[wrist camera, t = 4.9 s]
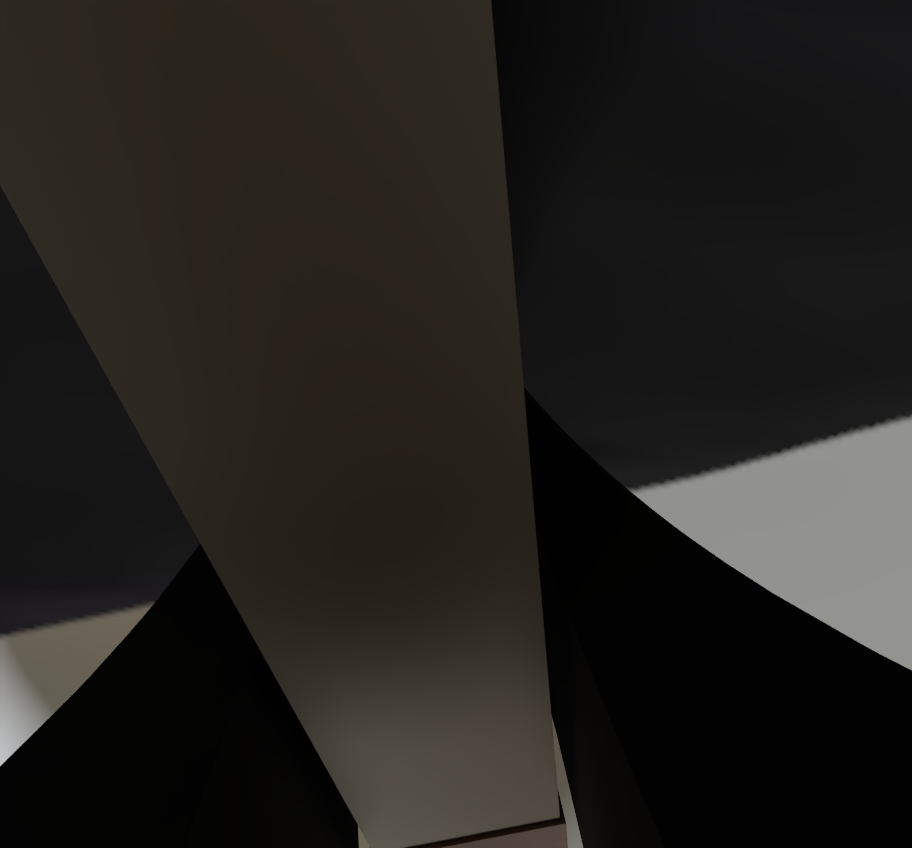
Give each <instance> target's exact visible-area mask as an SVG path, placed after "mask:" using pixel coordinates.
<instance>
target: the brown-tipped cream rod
mask: <svg viewBox="0 0 912 848" xmlns="http://www.w3.org/2000/svg"><path fill="white" fill-rule="evenodd" d="M0 186H1V188H2V190H3V191H4V193H5V195H6V197H7V199H8V200H9V202H10V204H11V206H12V207H13V209H14V211H15V213H16V215H17V216H18V218H19V220H20V222H21V224H22V225H23V227H24V229H25V231H26V232H27V234H28V236H29V238H30V240H31V241H32V243H33V245H34V247H35V249H36V250H37V252H38V254H39V256H40V258H41V259H42V261H43V263H44V265H45V266H46V268H47V270H48V272H49V274H50V275H51V277H52V279H53V281H54V283H55V284H56V286H57V288H58V290H59V291H60V293H61V295H62V297H63V299H64V300H65V302H66V304H67V306H68V308H69V309H70V311H71V313H72V315H73V316H74V318H75V320H76V322H77V324H78V325H79V327H80V329H81V331H82V333H83V334H84V336H85V338H86V340H87V342H88V343H89V345H90V347H91V349H92V350H93V352H94V354H95V356H96V358H97V359H98V361H99V363H100V365H101V367H102V368H103V370H104V372H105V374H106V375H107V377H108V379H109V381H110V383H111V384H112V386H113V388H114V390H115V392H116V393H117V395H118V397H119V399H120V401H121V402H122V404H123V406H124V408H125V409H126V411H127V413H128V415H129V417H130V418H131V420H132V422H133V424H134V426H135V427H136V429H137V431H138V433H139V434H140V436H141V438H142V440H143V442H144V443H145V445H146V447H147V449H148V451H149V452H150V454H151V456H152V458H153V459H154V461H155V463H156V465H157V467H158V468H159V470H160V472H161V474H162V476H163V477H164V479H165V481H166V483H167V485H168V486H169V488H170V490H171V492H172V493H173V495H174V497H175V499H176V501H177V502H178V504H179V506H180V508H181V510H182V511H183V513H184V515H185V517H186V518H187V520H188V522H189V524H190V526H191V527H192V529H193V531H194V533H195V535H196V536H197V538H198V540H199V542H200V544H201V545H202V547H203V549H204V551H205V552H206V554H207V556H208V558H209V560H210V561H211V563H212V565H213V567H214V569H215V570H216V572H217V574H218V576H219V577H220V579H221V581H222V583H223V585H224V586H225V588H226V590H227V592H228V594H229V595H230V597H231V599H232V601H233V602H234V604H235V606H236V608H237V610H238V611H239V613H240V615H241V617H242V619H243V620H244V622H245V624H246V626H247V628H248V629H249V631H250V633H251V635H252V636H253V638H254V640H255V642H256V644H257V645H258V647H259V649H260V651H261V653H262V654H263V656H264V658H265V660H266V661H267V663H268V665H269V667H270V669H271V670H272V672H273V674H274V676H275V678H276V679H277V681H278V683H279V685H280V686H281V688H282V690H283V692H284V694H285V695H286V697H287V699H288V701H289V703H290V704H291V706H292V708H293V710H294V712H295V713H296V715H297V717H298V719H299V720H300V722H301V724H302V726H303V728H304V729H305V731H306V733H307V735H308V737H309V738H310V740H311V742H312V744H313V745H314V747H315V749H316V751H317V753H318V754H319V756H320V758H321V760H322V762H323V763H324V765H325V767H326V769H327V771H328V772H329V774H330V776H331V778H332V779H333V781H334V783H335V785H336V787H337V788H338V790H339V792H340V794H341V796H342V797H343V799H344V801H345V803H346V804H347V806H348V808H349V810H350V812H351V813H352V815H353V817H354V819H355V821H356V822H357V824H358V826H359V828H360V829H361V831H362V833H363V835H364V837H365V838H366V840H367V842H368V844H369V846H370V848H568V845H567V831H566V822H565V817H564V813H563V809H562V805H561V801H560V796H559V792H558V788H557V776H556V764H555V752H554V741H553V729H552V717H551V705H550V693H549V681H548V669H547V658H546V646H545V634H544V622H543V610H542V598H541V586H540V574H539V563H538V551H537V539H536V527H535V515H534V503H533V491H532V480H531V468H530V456H529V444H528V432H527V420H526V408H525V396H524V385H523V373H522V361H521V349H520V337H519V325H518V313H517V302H516V290H515V278H514V266H513V254H512V242H511V230H510V218H509V207H508V195H507V183H506V171H505V159H504V147H503V135H502V123H501V112H500V100H499V88H498V76H497V64H496V52H495V40H494V29H493V17H492V5H491V0H0Z"/></svg>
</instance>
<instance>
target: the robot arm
mask: <svg viewBox="0 0 912 848" xmlns="http://www.w3.org/2000/svg"><path fill="white" fill-rule="evenodd" d="M524 396H525V408H526V420H527V432H528V444H529V456H530V468H531V480H532V491H533V503H534V515H535V527H536V539H537V551H538V563H539V574H540V586H541V598H542V610H543V622H544V634H545V646H546V658H547V669H548V681H549V693H550V705H551V715H552V719H553V722H554V726H555V729H556V733H557V737H558V741H559V745H560V750H561V754H562V758H563V762H564V766H565V770H566V775H567V779H568V783H569V787H570V792H571V796H572V800H573V804H574V808H575V813H576V817H577V822H578V826H579V830H580V835H581V839H582V843H583V848H912V670H910V669H907V668H906V667H904V666H902V665H900V664H898V663H896V662H894V661H892V660H890V659H888V658H886V657H884V656H882V655H880V654H878V653H877V652H875V651H873V650H871V649H869V648H867V647H865V646H864V645H862V644H860V643H858V642H857V641H855V640H853V639H852V638H850V637H848V636H846V635H844V634H843V633H841V632H839V631H838V630H836V629H834V628H832V627H831V626H829V625H827V624H825V623H823V622H822V621H820V620H818V619H817V618H815V617H813V616H811V615H810V614H808V613H806V612H804V611H803V610H801V609H799V608H797V607H796V606H794V605H792V604H790V603H789V602H787V601H785V600H783V599H782V598H780V597H778V596H776V595H774V594H773V593H772V592H770V591H768V590H767V589H765V588H764V587H762V586H760V585H759V584H758V583H756V582H754V581H753V580H751V579H750V578H748V577H746V576H745V575H744V574H742V573H740V572H739V571H737V570H736V569H734V568H733V567H731V566H730V565H728V564H726V563H725V562H724V561H722V560H721V559H719V558H718V557H716V556H715V555H714V554H712V553H711V552H709V551H708V550H706V549H705V548H703V547H702V546H701V545H699V544H698V543H696V542H695V541H693V540H692V539H691V538H689V537H688V536H686V535H685V534H684V533H682V532H681V531H680V530H678V529H677V528H676V527H674V526H673V525H672V524H670V523H669V522H668V521H666V520H665V519H664V518H663V517H661V516H660V515H659V514H657V513H656V512H655V511H654V510H652V509H651V508H650V507H649V506H647V505H646V504H645V503H644V502H642V501H641V500H640V499H639V498H638V497H636V496H635V495H634V494H633V493H631V492H630V491H629V490H628V489H627V488H625V487H624V486H623V485H622V484H621V483H620V482H618V481H617V480H616V479H615V478H614V477H613V476H611V475H610V474H609V473H608V472H607V471H606V470H605V469H604V468H603V467H602V466H600V465H599V464H598V463H597V462H596V461H595V460H594V459H593V458H592V457H591V456H590V455H589V454H587V453H586V452H585V451H584V450H583V449H582V448H581V447H580V446H579V445H578V444H577V443H576V442H575V441H574V440H573V439H572V438H571V437H570V436H569V435H568V434H567V433H566V432H565V431H564V430H563V429H562V428H561V427H560V426H559V425H558V424H557V423H556V422H555V421H554V420H553V419H552V418H551V417H550V416H549V415H548V414H547V413H546V412H545V411H544V409H543V408H542V407H541V406H540V405H539V404H538V403H537V402H536V401H535V399H534V398H533V397H532V396H531V395H530V393H529V392H528V391H527V390H526V389H525V387H524ZM0 848H359V845H358V824H357V822H356V821H355V819H354V817H353V815H352V813H351V812H350V810H349V808H348V806H347V804H346V803H345V801H344V799H343V797H342V796H341V794H340V792H339V790H338V788H337V787H336V785H335V783H334V781H333V779H332V778H331V776H330V774H329V772H328V771H327V769H326V767H325V765H324V763H323V762H322V760H321V758H320V756H319V754H318V753H317V751H316V749H315V747H314V745H313V744H312V742H311V740H310V738H309V737H308V735H307V733H306V731H305V729H304V728H303V726H302V724H301V722H300V720H299V719H298V717H297V715H296V713H295V712H294V710H293V708H292V706H291V704H290V703H289V701H288V699H287V697H286V695H285V694H284V692H283V690H282V688H281V686H280V685H279V683H278V681H277V679H276V678H275V676H274V674H273V672H272V670H271V669H270V667H269V665H268V663H267V661H266V660H265V658H264V656H263V654H262V653H261V651H260V649H259V647H258V645H257V644H256V642H255V640H254V638H253V636H252V635H251V633H250V631H249V629H248V628H247V626H246V624H245V622H244V620H243V619H242V617H241V615H240V613H239V611H238V610H237V608H236V606H235V604H234V602H233V601H232V599H231V597H230V595H229V594H228V592H227V590H226V588H225V586H224V585H223V583H222V581H221V579H220V577H219V576H218V574H217V572H216V570H215V569H214V567H213V565H212V563H211V561H210V560H209V558H208V556H207V554H206V552H205V551H204V549H203V547H202V545H201V544H199V546H198V547H197V549H196V550H195V551H194V553H193V554H192V555H191V556H190V558H189V559H188V560H187V562H186V563H185V564H184V566H183V567H182V568H181V570H180V571H179V572H178V573H177V575H176V576H175V577H174V579H173V580H172V581H171V583H170V584H169V585H168V587H167V588H166V589H165V590H164V592H163V593H162V594H161V596H160V597H159V598H158V600H157V601H156V602H155V603H154V604H153V606H152V607H151V608H150V609H149V610H148V612H147V613H146V614H145V615H144V616H143V618H142V619H141V620H140V621H139V622H138V624H137V625H136V626H135V627H134V628H133V629H132V630H131V632H130V633H129V634H128V635H127V636H126V637H125V638H124V640H123V641H122V642H121V643H120V644H119V645H118V646H117V647H116V648H115V649H114V651H113V652H112V653H111V654H110V655H109V656H108V657H107V658H106V659H105V661H104V662H103V663H102V664H101V665H100V666H99V667H98V668H97V670H96V671H95V672H94V673H93V674H92V675H91V676H90V677H89V678H88V679H87V680H86V681H85V682H84V684H83V685H82V686H81V687H80V688H79V689H78V690H77V691H76V692H75V693H74V694H73V695H72V696H71V697H70V698H69V699H68V700H67V701H66V702H65V703H64V704H63V705H62V706H61V707H60V708H59V709H58V710H57V711H56V712H55V713H54V714H53V715H52V716H51V717H50V718H49V719H48V720H47V721H46V722H45V723H44V724H43V725H42V726H41V727H40V728H39V729H38V730H37V731H36V732H35V733H34V734H33V735H32V736H31V737H30V738H29V739H28V740H27V741H26V742H25V743H23V744H22V746H20V747H19V749H17V750H16V751H15V752H14V754H13V755H12V756H10V757H9V758H8V759H7V760H6V761H5V762H4V763H3V764H2V765H1V766H0Z"/></svg>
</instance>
